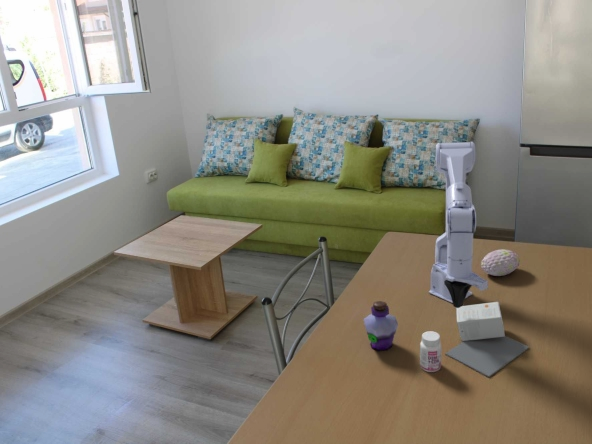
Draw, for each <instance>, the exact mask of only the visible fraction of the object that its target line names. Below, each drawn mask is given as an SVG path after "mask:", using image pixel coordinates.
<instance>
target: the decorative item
mask: <svg viewBox="0 0 592 444" xmlns="http://www.w3.org/2000/svg"><path fill="white" fill-rule="evenodd" d="M520 260H521V259H520V256H519V255H518V254H517V253H516V252H514V251H512V250H511V249H510V250H509V249H504V248H502V249H496V250H493V251H491V252H488V253H487V254H486V255H485V256H484V257H483V259H482V260H481V261H480V267H481V269H482V271H483V272H484V273H485V274H488V275H491V276H495V277H501V276H502V277H503V276H506V275H510V274H511V273H512V272H514V271H515V270H517V268H518V267H519V266H520Z"/></svg>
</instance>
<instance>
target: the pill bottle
mask: <svg viewBox="0 0 592 444" xmlns="http://www.w3.org/2000/svg"><path fill="white" fill-rule="evenodd" d="M419 347H420V348H419V349H420V350H419V359H420V360H419V365H420V366H419V367H420V368H421V369H422V370H423V371H425V372H428V373H434V372H438V371H439V370H440V369H441V367H442V343H441V336H440V333H438V332H436V331H431V330H429V331H425V332H423V333H422V334H421V341H420V343H419Z"/></svg>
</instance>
